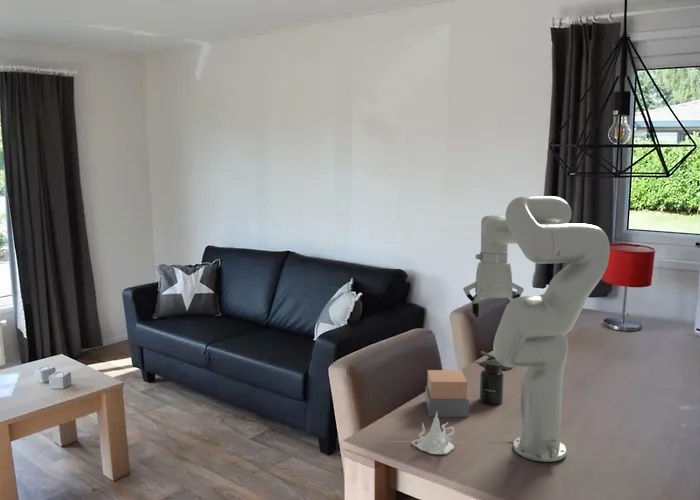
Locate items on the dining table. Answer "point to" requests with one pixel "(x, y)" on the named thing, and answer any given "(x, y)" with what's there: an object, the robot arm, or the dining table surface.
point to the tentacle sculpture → (435, 439)
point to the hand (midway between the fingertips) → (492, 316)
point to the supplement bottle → (491, 383)
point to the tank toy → (493, 360)
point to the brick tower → (447, 394)
